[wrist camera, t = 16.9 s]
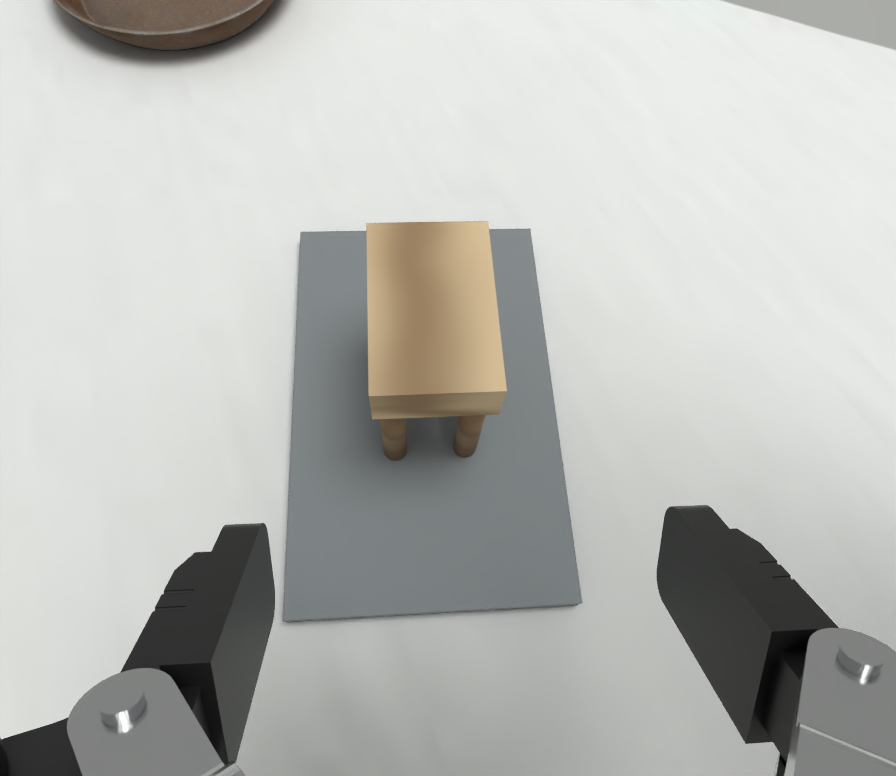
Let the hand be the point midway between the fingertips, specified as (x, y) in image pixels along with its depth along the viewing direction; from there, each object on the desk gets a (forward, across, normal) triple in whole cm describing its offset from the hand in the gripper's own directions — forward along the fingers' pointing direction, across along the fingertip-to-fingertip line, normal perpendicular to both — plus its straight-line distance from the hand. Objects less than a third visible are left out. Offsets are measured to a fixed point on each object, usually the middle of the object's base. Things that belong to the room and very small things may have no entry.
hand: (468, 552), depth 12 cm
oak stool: (+21, 0, +5) cm, 21 cm away
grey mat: (+21, 0, +6) cm, 22 cm away
